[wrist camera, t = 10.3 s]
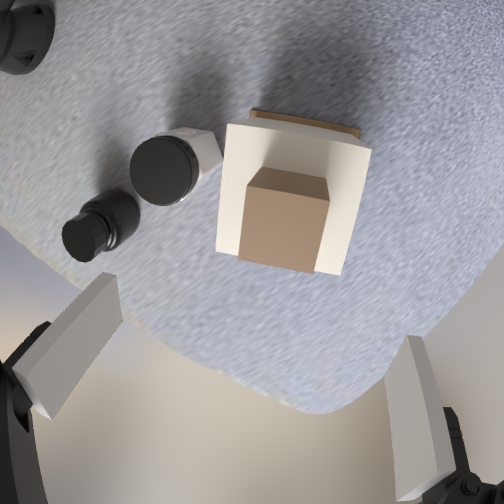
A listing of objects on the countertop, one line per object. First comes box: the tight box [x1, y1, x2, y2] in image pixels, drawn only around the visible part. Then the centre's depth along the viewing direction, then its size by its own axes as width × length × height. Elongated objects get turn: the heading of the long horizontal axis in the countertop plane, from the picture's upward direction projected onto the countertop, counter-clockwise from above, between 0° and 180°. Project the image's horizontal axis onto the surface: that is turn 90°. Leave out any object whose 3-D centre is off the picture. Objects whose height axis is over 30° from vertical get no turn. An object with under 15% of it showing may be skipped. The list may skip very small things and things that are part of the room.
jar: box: [130, 127, 223, 206], centre depth 39 cm, size 9×8×12 cm
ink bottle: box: [62, 189, 139, 263], centre depth 46 cm, size 10×9×12 cm
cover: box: [216, 117, 372, 276], centre depth 33 cm, size 13×13×22 cm
